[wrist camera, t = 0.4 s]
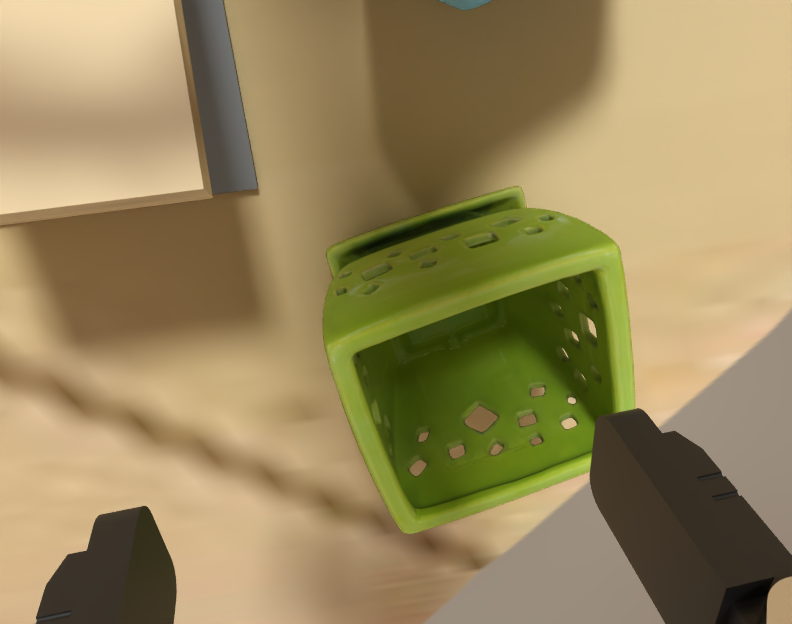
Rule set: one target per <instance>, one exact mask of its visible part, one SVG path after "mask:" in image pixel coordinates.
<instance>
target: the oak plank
mask: <svg viewBox="0 0 792 624" xmlns="http://www.w3.org/2000/svg"><path fill="white" fill-rule="evenodd" d="M211 198H213V196H212V190H211V184H210V177H209V171H208V165H207V159H206V153H205V146H204V140H203V134H202V128H201V121H200V115H199V109H198V103H197V96H196V90H195V84H194V78H193V72H192V65H191V59H190V53H189V47H188V40H187V34H186V28H185V22H184V16H183V9H182V3H181V0H0V226H1V225H8V224H16V223H24V222H32V221H39V220H47V219H55V218H63V217H71V216H78V215H86V214H94V213H102V212H110V211H117V210H125V209H133V208H141V207H148V206H156V205H164V204H172V203H180V202H187V201H195V200H203V199H211Z"/></svg>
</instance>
